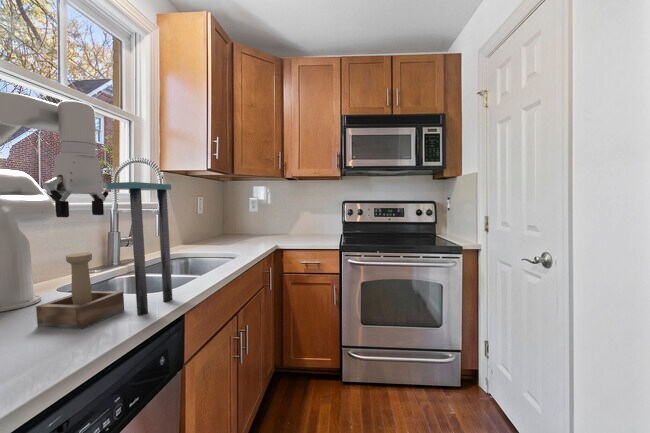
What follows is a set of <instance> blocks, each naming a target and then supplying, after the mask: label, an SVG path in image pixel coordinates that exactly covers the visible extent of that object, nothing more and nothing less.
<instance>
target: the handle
mask: <svg viewBox="0 0 650 433" xmlns="http://www.w3.org/2000/svg"><path fill="white" fill-rule="evenodd" d="M92 258H93V252H90V251H89V252H76V253H72V254H71V253H70V254H67V255H66V256H65V260H66V261H65V262H66V263H68V264H70V265H71V266H70V267H71V295H72V300H73V305H83V304H86V303H89V302H92V291H93V290H92V284H91V277H90V276H91V275H90V269H89V262H91V261H92Z"/></svg>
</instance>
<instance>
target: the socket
mask: <svg viewBox="0 0 650 433" xmlns="http://www.w3.org/2000/svg"><path fill="white" fill-rule="evenodd" d="M35 308H36V310H35V311H36V323H37V324H36V325H37V328H45V329H67V330H69V329H70V330H71V329H73V330H85V329H86V328H88V327H90V326H93V325H95V324H97V323H99V322H102V321H104V320H105V319H106V320H107V319H108V318H111V317H112V316H115V315H116V314H119V313H121V312H124V311H125V298H124V291H114V290H113V291H108V290H106V291H103V290H92V302H89V303H86V304H83V305H73V300H72V294H69V295H65V296H63V297H61V298H57V299H53V300H52V301H48V302H45V303H42V304H39V305H36V306H35Z"/></svg>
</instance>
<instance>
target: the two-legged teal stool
mask: <svg viewBox="0 0 650 433" xmlns="http://www.w3.org/2000/svg"><path fill="white" fill-rule="evenodd" d="M106 183H107V189H110V190H118V191H119V190H124V191H129V200H130V203H129V204H130V217H131V218H130V219H131V236H132V249H133V251H132V252H133V253H132V254H133V267H134V283H135V298H136V299H135V301H136V302H135V303H136V315H137V316H146V315H147V314H149V305H148V290H147V289H148V287H147V272H146V271H147V270H146V269H147V268H146V257H145V256H146V255H145V254H146V253H145V238H144V237H145V236H144V221H143V205H142V202H143V201H142V191H156V197H157V198H156V199H157V213H158V231H159V247H160V248H159V250H160V252H159V253H160V264H161V266H160V267H161V269H160V270H161V284H162V285H161V287H162V302H163V303H169V302H172V301H173V286H172V285H173V284H172V282H173V281H172V280H173V279H172V264H171V245H170V228H169V208H168V191H169V190H170V191H171V190H172V184H167V183H155V182H153V183H152V182H143V181H141V182H140V181H139V182H138V181H126V182H123V181H122V182H106Z"/></svg>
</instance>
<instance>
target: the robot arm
mask: <svg viewBox="0 0 650 433" xmlns="http://www.w3.org/2000/svg"><path fill="white" fill-rule="evenodd" d="M22 127H23V128H24V127H25V128H29V129H34V130H35V129H36V130H40V131H46V132H50V133H55V134H58V137H59V139H58V141H59V153H57V154H56V155H55V159H54V165H53V173H52V174H53V176H52V178H51V179H49V180H47V181H44V182H43V183H42V186H43V188H44V190H45V191H46V192H45V191H44V190H43V188H42V187H40V185H39V184H38V183H37V182H36V180H35V179H34V178H33V177H32V176H30V175H29V174H27V173H26V172H24V171H20V170H14V169H5V168H0V312H8V311H12V310H17V309H21V308H26V307H28V306H31V305H34V304H36V303H39V302H41V300H42V296H41V295H39V294H35V291H34V284H33V283H34V282H33V281H34V280H33V270H32V257H31V256H32V255H31V246H30V244H31V243H30V240H29V239H28V237H27V236H26V235H25V234H24V232H22V230H21V229H20V228H28V227H29V228H30V227H39V226H40V227H41V226H45V225H48V224H50V223H52V222H53V221H54V219H56V218H55V217H57V218H69V217H70V207H69V206H70V205H69V201H68V200H67V199H68V198H69V197H70V195H71V194H73V195H89V196H90V197H91V198H92V200H91V214H92V216H104V214H105V211H104V210H105V209H104V201H106V198H107V197H108V196H109V192H110V190H111V189H107V183H108V182H105V181H103V176H102V169H101V164H100V160H99V158H98V157H97V156H98V155H99V152H100V151H99V149H97V130H96V129H97V128H96V111H95V108H94V107H93V106H92V105H91V104H89V103H86V102H83V101H79V100H70V99H69V100H62V101H60V102H58V103H54V102H51V101H47V100H44V99H41V98H37V97H33V96H30V95H25V94H20V93H14V92H8V91H3V90H2V91H0V146H1V145H2V144H3V143H5V142H6V141H7V140H8V139H10V138H11V137H12V136H13V135H14V134H15V133H16V132H18V130H19V129H21V128H22ZM54 204H55V205H54Z"/></svg>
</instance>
